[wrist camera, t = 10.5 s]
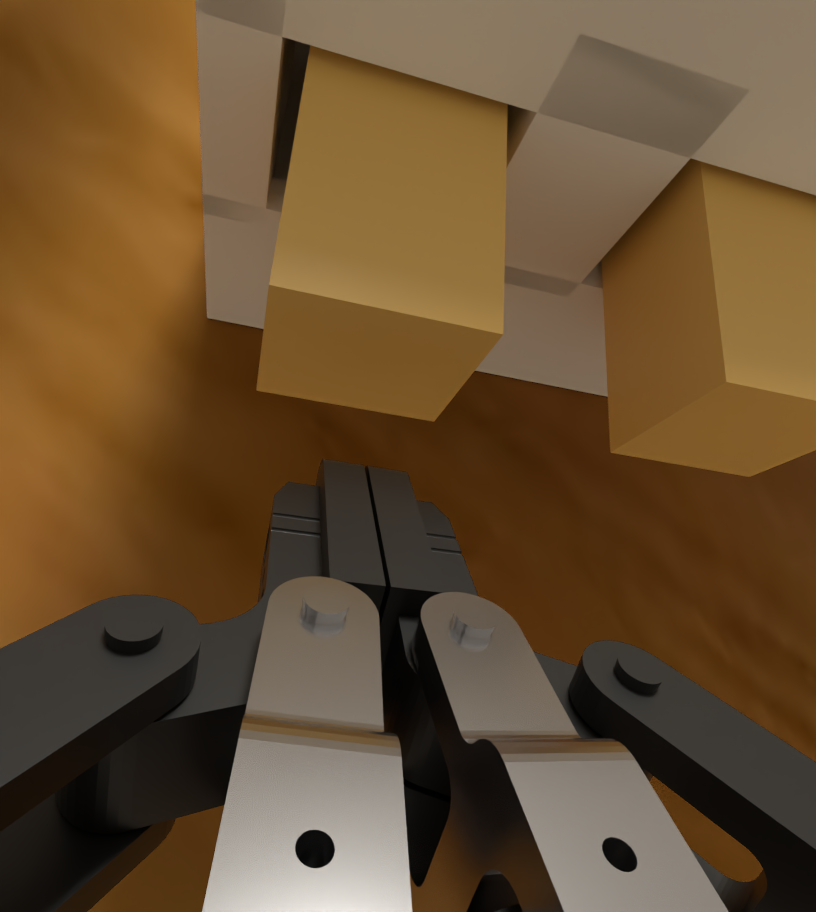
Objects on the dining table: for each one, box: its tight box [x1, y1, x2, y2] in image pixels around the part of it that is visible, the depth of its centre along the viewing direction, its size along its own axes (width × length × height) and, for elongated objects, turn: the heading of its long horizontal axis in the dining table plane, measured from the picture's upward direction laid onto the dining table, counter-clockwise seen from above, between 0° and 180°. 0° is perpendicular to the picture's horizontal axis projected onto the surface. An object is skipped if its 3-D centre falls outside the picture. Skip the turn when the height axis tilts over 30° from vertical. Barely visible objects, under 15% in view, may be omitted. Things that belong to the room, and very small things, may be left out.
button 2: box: [601, 159, 816, 477], centre depth 15 cm, size 4×6×4 cm
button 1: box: [256, 45, 508, 422], centre depth 14 cm, size 4×6×4 cm
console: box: [196, 0, 816, 397], centre depth 18 cm, size 25×6×14 cm, turn 88°
